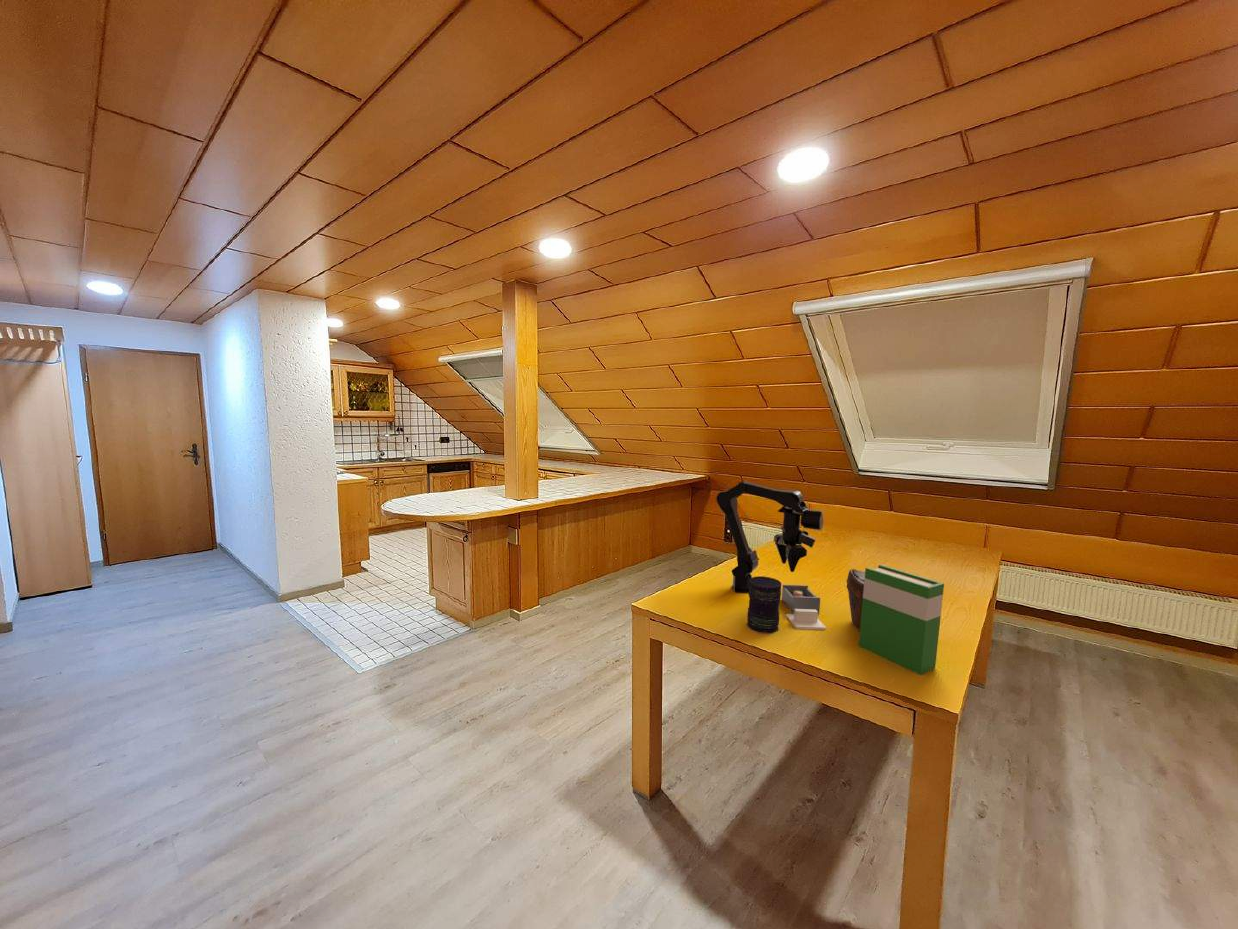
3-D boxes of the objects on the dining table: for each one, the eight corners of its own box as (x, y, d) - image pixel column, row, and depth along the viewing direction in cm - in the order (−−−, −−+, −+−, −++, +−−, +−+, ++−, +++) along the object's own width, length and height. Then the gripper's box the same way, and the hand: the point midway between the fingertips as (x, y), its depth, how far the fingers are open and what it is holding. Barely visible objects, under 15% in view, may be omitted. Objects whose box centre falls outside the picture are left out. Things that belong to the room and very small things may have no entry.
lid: (795, 630, 154) (796, 616, 154) (785, 617, 164) (786, 604, 164) (825, 631, 154) (826, 617, 154) (814, 618, 164) (815, 604, 163)
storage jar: (774, 636, 148) (777, 589, 147) (742, 628, 154) (745, 582, 152) (782, 625, 157) (785, 580, 155) (752, 617, 162) (754, 574, 160)
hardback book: (858, 646, 144) (865, 568, 141) (873, 641, 147) (880, 564, 145) (920, 675, 129) (929, 588, 126) (935, 668, 132) (944, 583, 130)
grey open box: (792, 613, 166) (794, 597, 165) (781, 599, 178) (782, 584, 177) (819, 614, 166) (820, 598, 165) (806, 600, 178) (807, 585, 177)
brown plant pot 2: (924, 638, 150) (929, 582, 148) (866, 642, 146) (870, 585, 145) (884, 615, 167) (887, 564, 165) (831, 618, 164) (834, 566, 162)
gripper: (823, 533, 165) (820, 577, 167) (804, 520, 183) (801, 560, 185) (791, 532, 165) (787, 576, 167) (774, 519, 184) (772, 559, 185)
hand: (787, 567), depth 176 cm, fingers open, 9 cm apart
